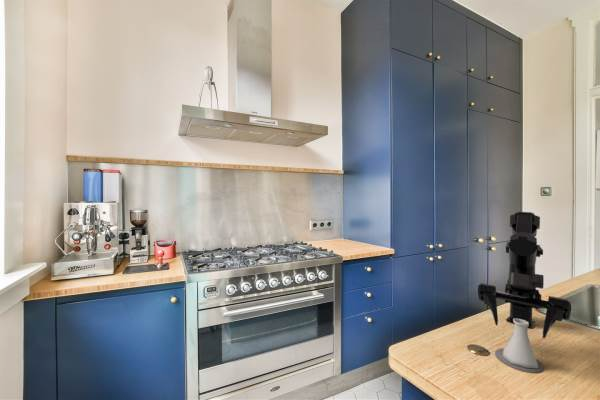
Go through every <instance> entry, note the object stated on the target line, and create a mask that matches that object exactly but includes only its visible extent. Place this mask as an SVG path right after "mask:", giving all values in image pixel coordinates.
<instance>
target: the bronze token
mask: <svg viewBox="0 0 600 400" xmlns="http://www.w3.org/2000/svg"><path fill="white" fill-rule="evenodd" d="M466 348H467V350H468V351H469V352H470V353H472V354H474V355H477V356H482V357H486V356H489V355H490V351H489V349H487V348H486V347H484V346H481V345H479V344H475V343H474V344H471V343H470V344H467V346H466Z"/></svg>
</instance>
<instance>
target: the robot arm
mask: <svg viewBox="0 0 600 400" xmlns="http://www.w3.org/2000/svg"><path fill="white" fill-rule="evenodd" d="M540 226H541V216H539V215H536V214H535V213H534V212H531V211H517V212H515V213H513V214H511V215H509V228H511V231H512V232H511V233H512V235H510V238H509V241H506V245H505V253H506V254H508V259H509V260H508V261H509V266H508V267H509V269H508V279H507V282H506V284H505V287H504V288H505V290H504V291H499V290H497V287H496V285H495V284H494V285H493V284H488V283H484V282H483V283H482V282H480V283H479V284H478V285H477V294H478V295H477V296H478V300H480V301H481V302H483V303H484V304H485V305H487V306H488V307H489V309H490V312H491V314H492V317H493V320H494V324H495V326H498V324H499V318H498V306H497V299H499V300H504V303H508V304H509V315H508V317H507V318H506V319H505V320H506V322H509V323H512V324H515V323H514V322H513V319H522V320H525V321H527V322H529V326H528V328H527V329H532V328H533V327H534V325H535V324H536V321H535V320H533V309H536V310H539V309H546V311H545V312H546V313H545V318H544V324H543V327H542V329H543V330H542V338H543V339H546V337H547V336H548V333H549V331H550V329H551V327H553V325H554V324H555V323H556V322H562V321H563V320H566V321H567V320H570V317H571V313H572V302H571V301H569V300H568V298H562V297H556V296H550V295H548V300H544V299H542V294H541V293H540V290H539V289H544V275H543V274H539V273H536V262H537V258H540V257H541V256H543V255H544V249H543V247H541V245H540V244H538V240H537V237H536V236H537V235H538V234H537V233H538V230H540V228H541V227H540Z"/></svg>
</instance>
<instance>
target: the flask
mask: <svg viewBox="0 0 600 400" xmlns="http://www.w3.org/2000/svg"><path fill="white" fill-rule="evenodd" d="M513 322H514V323H513V324H514V326H513V329H512V334H511V336H510V337H509V339H508V341H507V343H506V344H505V346H504V348H503V349H504V350H503V357H504V358H506V359H507V360H508V361H509V362H510V363H512V364H516V365H519V366H522V367H525V368H538V364H537V360H538V359H537V358H536V355H535V353H534V350H533V347H532V344H531V341H530V338H529V333H528V329H529V328H528V326H529V322H527V321H525V320H522V319H513Z"/></svg>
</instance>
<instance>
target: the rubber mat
mask: <svg viewBox="0 0 600 400" xmlns="http://www.w3.org/2000/svg"><path fill="white" fill-rule="evenodd" d="M503 350H504V348H499V349H496V350H495V351H494V355H495V357H496V359H497V360H499V361H500V363H502V364H504V365H506V366H508V367H510V368H512V369H514V370H517V371H521V372H525V373H531V374H538V373H542V372H543V371H544V366H543V364H542V363H541V361H539V360H538V359H536V360H537V364H538V368H525V367H522V366H519V365H516V364H512V363H510V362H509V361H508V360H507V359H506V358H504V357H503Z"/></svg>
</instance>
